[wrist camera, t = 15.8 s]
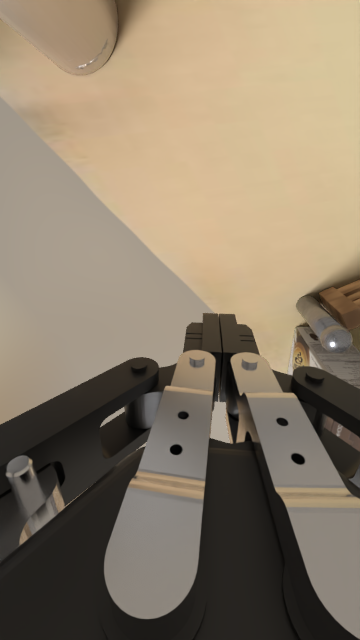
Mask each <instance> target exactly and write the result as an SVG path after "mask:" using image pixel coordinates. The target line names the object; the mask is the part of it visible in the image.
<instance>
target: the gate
mask: <svg viewBox="0 0 360 640" xmlns="http://www.w3.org/2000/svg"><path fill="white" fill-rule="evenodd" d="M319 295H320V298H321V300H322V303H323V306H324V307H325V308H326V309H327V310H328V311H329V312H330V313H331V314H332V315H333V316H334V317H335V318H336V319H337V320H338V321H339V322H340V323H341V324H342V325H343V326H344V327H345V328H347V329H348V330H351V329H354V328H357V327H359V326H360V279H359V280H357V281H355V282H352V283H350V284H348V285H345V286H343V287H341V288H339V289H336V288H334V287H331V288H329V289H326V290H324V291H322V292H319Z"/></svg>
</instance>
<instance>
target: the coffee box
mask: <svg viewBox="0 0 360 640" xmlns="http://www.w3.org/2000/svg"><path fill="white" fill-rule="evenodd" d="M301 366H311V367H316V368H320V369H322V370H324V371H327V372H328V373H330V374H332V375H334V376H336V377H338V378H340V379H342V380H344V381H345V382H347V383H349V384H351V385H353V386H355V387H357V388H359V389H360V352H359V351H358V349H357V348H356V347H355V346H354V345H353V344H352V345H351V346H350V348H349V349H348V350H346V351H345V352H342V353H331V352H329V351H327V350H326V349H325V348H324V347H323V346H322V345H321V342H320V339H319V338H318V336H317V335H316V334H315V333H314V331H313V330H312V329H311V327H296V328H295V331H294V337H293V344H292V350H291V356H290V362H289V369H288V375H292V374H293V371H294V370H295V369H296V368H298V367H301ZM325 428H326V429H328V430H329V431H331V432H332V433H333V434H335V435H336V436H338V437H339V438H341V439H342V440H343V441H345V442H346V443H348V444H349V445H351V446H352V447H354V448H355V449H356V450H358V451H359V452H360V438H359V437H358V436H357V435H355V434H354V433H352V432H351V431H349V430H348V429H346V428H345V427H343V426H342V425H340V424H339V423H337V422H336V421H334V420H332V419H331V418H329V417H327V420H326V424H325Z"/></svg>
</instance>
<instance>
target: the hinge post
mask: <svg viewBox="0 0 360 640" xmlns="http://www.w3.org/2000/svg"><path fill="white" fill-rule="evenodd" d="M296 308H297V310H298V311H299V313H300V314H301V315H302V317H303V318H304V319H305V321H306V322H307V323H308V325H309V326H310V327H311V329H312V330H313V331H314V333H315V334H316V335H317V336H318V338H319V339H320V342H321V345H322V346H323V347H324V348H325V349H326V350H327V351H329V352H331V353H342V352H345V351H346V350H348V349H349V348H350V346H351V345H352V341H353V338H352V334H351V332H350V331H349V330H348V329H347V328H345V327H344V326H341V325H340V324H339V323H338V322H337V321H336V320H335V319H334V318H333V317H332V316H331V315H330V314H329V313H328V312H327V311H326V309H325V308H324V307H323V306H322V305H321V304H320V303H319V302H318V301H317V300H316V299H315V298H314V297H312V296H303V297H301V298H300V299H299V300H298V301H297V304H296Z"/></svg>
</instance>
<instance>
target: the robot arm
mask: <svg viewBox="0 0 360 640" xmlns="http://www.w3.org/2000/svg"><path fill="white" fill-rule="evenodd" d="M0 19H1V20H3V21H4V22H5V23H6V24H7V25H9V26H10V27H11V28H12V29H13V30H15V31H16V32H17V33H18V34H19V35H21V36H22V37H23V38H24V39H26V40H27V41H28V42H29V43H30V44H32V45H33V46H34V47H35V48H36V49H37V50H39V51H40V52H41V53H42V54H44V55H45V56H46V57H47V58H48V59H50V60H51V61H52V62H53V63H55V64H56V65H57V66H58V67H59V68H61V69H63V70H64V71H66V72H68V73H71V74H75V75H87V74H90V73H93V72H95V71H96V70H98V69H99V68H101V67H102V66H103V65H104V64H105V63H106V61H107V60H108V58H109V57H110V55H111V53H112V51H113V48H114V46H115V43H116V38H117V32H118V14H117V7H116V2H115V0H0ZM218 394H219V400H220V402H226V414H225V419H226V424H227V430H228V435H229V440H230V443H225V442H222V441H218V440H215V439H211V438H210V433H211V420H212V411H213V410H214V402H215V401H217V402H218ZM123 407H124V408H125V412H123V413H122V414H120V415H119V416H117V417H116V418H114V419H113V420H111V421H110V422H108V423H106V424H105V425H103V426H102V427H100V426H101V423H102V422H103V421H104V420H105V419H106V418H107V417H108V416H110V415H111V414H113V413H115V412H116V411H118V410H119V409H121V408H123ZM327 417H329V418H331V419H332V420H334V421H336V422H337V423H339V424H340V425H342V426H343V427H345V428H346V429H348V430H349V431H351V432H352V433H354V434H355V435H357V436H358V437H359V438H360V389H359V388H357V387H355V386H353V385H351V384H349V383H347V382H345V381H344V380H342V379H340V378H338V377H336V376H334V375H332V374H330V373H328V372H327V371H324V370H322V369H320V368H316V367H311V366H301V367H298V368H296V369H295V370H294V371H293V374H292V375H288V374H284V373H280V372H277V371H274V370H272V369H271V367H270V365H269V363H268V361H267V360H266V359H265V358H264V357H262V356H260V354H259V351H258V348H257V345H256V342H255V339H254V336H253V332H252V330H251V329H250V328H249V327H248V326H247V325H243V324H237V322H236V318H235V314H219V317H218V314H213V313H203V323H191V324H190V325H189V326H188V327H187V329H186V336H185V343H184V350H183V354H181V355H180V357H179V359H178V362H177V363H176V364H174V365H171V366H168V367H161V368H159V366H158V364H157V362H156V361H154V360H152V359H149V358H143V357H140V358H133V359H130V360H128V361H126V362H124V363H122V364H120V365H118V366H116V367H114V368H112V369H110V370H108V371H106V372H104V373H102V374H100V375H98V376H96V377H94V378H92V379H90V380H88V381H86V382H84V383H82V384H80V385H78V386H77V387H74V388H72V389H70V390H68V391H66V392H65V393H62V394H60V395H58V396H56V397H54V398H53V399H50V400H49V401H47V402H45V403H43V404H40V405H39V406H37V407H35V408H33V409H31V410H29V411H27V412H25V413H23V414H21V415H19V416H17V417H15V418H13V419H11V420H9V421H7V422H5V423H3V424H1V425H0V640H360V452H359V451H358V450H356V449H355V448H354V447H352V446H351V445H349V444H348V443H346V442H345V441H343V440H342V439H341V438H339V437H338V436H336V435H335V434H333V433H332V432H331V431H329V430H328V429H326V428H325V424H326V420H327ZM145 442H147V443H146V446H145V447H142V448H140V449H138V448H139V447H140V446H142V445H143V444H144V443H145ZM136 449H138V450H136ZM135 450H136V451H135ZM92 484H93V485H92ZM91 485H92V486H91ZM87 488H88V489H87ZM86 489H87V490H86ZM85 490H86V491H85ZM82 492H83V493H82ZM81 493H82V494H81ZM80 494H81V495H80ZM79 495H80V496H79ZM77 496H79V497H77ZM76 497H77V498H76ZM75 498H76V499H75ZM73 499H75V500H74V501H72V500H73ZM71 501H72V502H71ZM70 502H71V503H70ZM68 503H70V504H69V505H68V506H67V507H65V506H66V505H67V504H68ZM64 507H65V508H64Z"/></svg>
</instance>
